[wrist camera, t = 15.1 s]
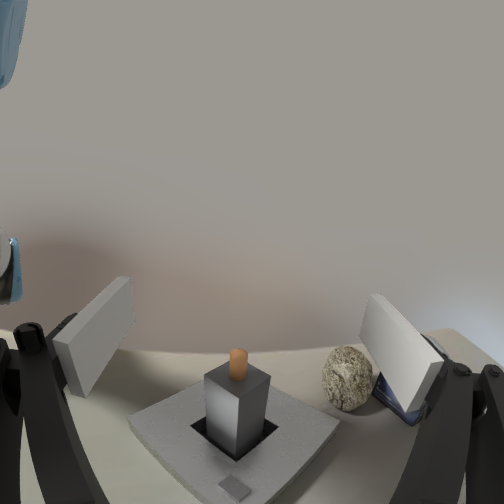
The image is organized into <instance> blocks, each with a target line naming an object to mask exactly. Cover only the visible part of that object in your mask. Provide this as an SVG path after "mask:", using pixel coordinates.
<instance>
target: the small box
mask: <svg viewBox="0 0 504 504" xmlns="http://www.w3.org/2000/svg"><path fill="white" fill-rule="evenodd" d="M446 358H447V357H446ZM447 359H448V358H447ZM448 360H449V361H450V362H451V363H455V362H453V361H452V360H450V359H448ZM372 395H374V396H375V397H376V398H377V399H378V400H380V401H381V402H382V403H383V404H384V405H386V406H387V407H388V408H389V409H390V410H392V411H393V412H394V413H395V414H397V415H398V416H399V417H400V418H401V419H403V420H404V421H405V422H406V423H407V424H409V425H410V426H411V427H412V426H414V425H415V424H416V423H417V422H418V420H419V419H420V417H421V416H422V414H423V412H424V411H425V409H426V407H427V406H428V404H427V403H426V401H425V400H424V401H423V403H422V405H421V406H420V408H419V410H415V411H411V412H406V413H405V412H404V410H403V408H402V406H401V405H400V403H399V401H398V400H397V398H396V396H395V394H394V393H393V391H392V389H391V388H390V386H389V384H388V383H387V381H386V379H385V378H384V376H383V374H382V373H381V371H380V374H379V376H378V379H377V381H376V384H375V386H374V389H373V391H372Z"/></svg>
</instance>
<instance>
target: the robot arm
mask: <svg viewBox="0 0 504 504" xmlns="http://www.w3.org/2000/svg"><path fill="white" fill-rule="evenodd" d="M27 3H28V0H0V89H2V88H4V87H5V86H6V85H7V84H8V83H9V82H10V80H11V78H12V75H13V72H14V69H15V65H16V61H17V57H18V51H19V45H20V43H21V39H22V33H23V28H24V22H25V17H26V11H27ZM22 295H23V289H22V280H21V267H20V255H19V243H18V240H17V239H15V238H8V236H7V234H6V233H5V232H4V231H3V230H2V229H1V228H0V305H4V304H7V305H9V304H11V303H13V302H17V301H19V300H20V299H21V298H22ZM134 323H135V315H134V305H133V295H132V282H131V277H124V276H118V277H117V278H116V279H115V280H114V281H113V282H112V283H110V284H109V285H108V286H107V287H106V288H105V289H104V290H103V291H102V292H101V293H100V294H99V295H97V296H96V297H95V298H94V299H93V300H92V301H91V302H90V303H89V304H88V305H87V306H86V307H85V308H84V309H83V310H82V311H81V312H79V313H74V314H72V315H70V316H68V317H66V318H65V319H64V320H63V321H62V322H61V324H59V325H58V326H57V327H56V328H55V329H54V330H53V331H52V332H51V333H50V334H49V335H48V336H47V337H46V338H45V337H44V333H43V330H42V327H41V325H39V324H38V323H33V322H32V323H31V322H30V323H24V324H21V325H20V326H18V327H17V328H16V329H15V330H14V332H13V335H14V338H15V341H16V344H17V347H18V349H19V350H14V349H9V347H8V345H7V342H6V340H4V339H3V338H0V504H21V500H20V449H21V435H22V426H23V417H24V420H25V427H26V432H27V438H28V443H29V448H30V452H31V457H32V461H33V465H34V469H35V472H36V476H37V479H38V482H39V486H40V489H41V492H42V495H43V498H44V501H45V503H46V504H110V503H109V502H108V500H107V498H106V496H105V494H104V492H103V490H102V488H101V486H100V484H99V482H98V480H97V478H96V476H95V474H94V472H93V470H92V468H91V465H90V463H89V461H88V459H87V456H86V454H85V451H84V449H83V446H82V444H81V441H80V439H79V436H78V433H77V430H76V428H75V425H74V422H73V419H72V416H71V413H70V409H69V406H68V403H67V399H66V396H65V393H64V391H63V389H64V387H65V386H66V384H67V385H68V387H69V390H70V392H71V394H73V395H76V396H79V397H82V398H87V396H88V394H89V393H90V391H91V389H92V388H93V386H94V384H95V383H96V381H97V380H98V378H99V376H100V375H101V373H102V372H103V370H104V368H105V367H106V365H107V364H108V362H109V361H110V359H111V357H112V356H113V354H114V353H115V351H116V350H117V348H118V347H119V345H120V343H121V342H122V341H123V339H124V337H125V336H126V334H127V333H128V331H129V330H130V329H131V327H132V326H133V324H134ZM359 337H360V339H361V340H362V342H363V344H364V345H365V347H366V348H367V350H368V352H369V353H370V355H371V356H372V358H373V360H374V361H375V363H376V364H377V366H378V368H379V369H380V371H381V373H382V374H383V376H384V378H385V379H386V381H387V383H388V384H389V386H390V388H391V389H392V391H393V393H394V394H395V396H396V398H397V400H398V401H399V403H400V405H401V406H402V408H403V410H404V412H405V413H406V412H411V411H415V410H419V408H420V406H421V405H422V403H423V401H424V400H425V401H426V403H427V404H428V406H427V407H426V409H425V411H424V412H423V414H422V416H421V417H420V419H419V420H418V422H417V423H420V421H421V420H422V421H421V424H420V428H419V431H418V434H417V437H416V440H415V443H414V446H413V449H412V451H411V454H410V457H409V459H408V462H407V465H406V467H405V470H404V472H403V474H402V477H401V479H400V481H399V484H398V486H397V488H396V490H395V492H394V495H393V497H392V499H391V501H390V503H389V504H457V502H458V499H459V495H460V491H461V486H462V482H463V477H464V472H465V473H466V504H504V372H503V371H502V370H501V369H500V368H499V367H498V366H496V365H492V364H487V365H485V366H484V368H483V370H482V372H481V374H478V373H472V371H471V370H470V368H468V367H467V366H466V365H463V364H461V363H451V362H450V361H449V360H448V359H447V358H446V357H445V356H444V355H443V354H442V352H441V351H440V350H438V348H437V347H436V346H435V345H434V344H433V343H432V342H431V341H430V340H429V339H428V338H427V337H425V336H424V335H422V334H419V332H418V331H417V330H416V329H415V328H414V327H413V326H412V325H411V324H410V323H409V322H408V321H407V320H406V319H405V318H404V317H403V316H402V315H401V314H400V313H399V312H398V311H397V310H396V309H395V308H394V307H393V306H392V305H391V304H390V303H389V302H388V301H387V300H386V299H385V298H384V297H383V296H382V295H381V294H370V295H369V299H368V303H367V307H366V311H365V314H364V318H363V322H362V326H361V329H360V332H359ZM486 407H487V411H486V414H485V413H484V410H485V409H486Z"/></svg>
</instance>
